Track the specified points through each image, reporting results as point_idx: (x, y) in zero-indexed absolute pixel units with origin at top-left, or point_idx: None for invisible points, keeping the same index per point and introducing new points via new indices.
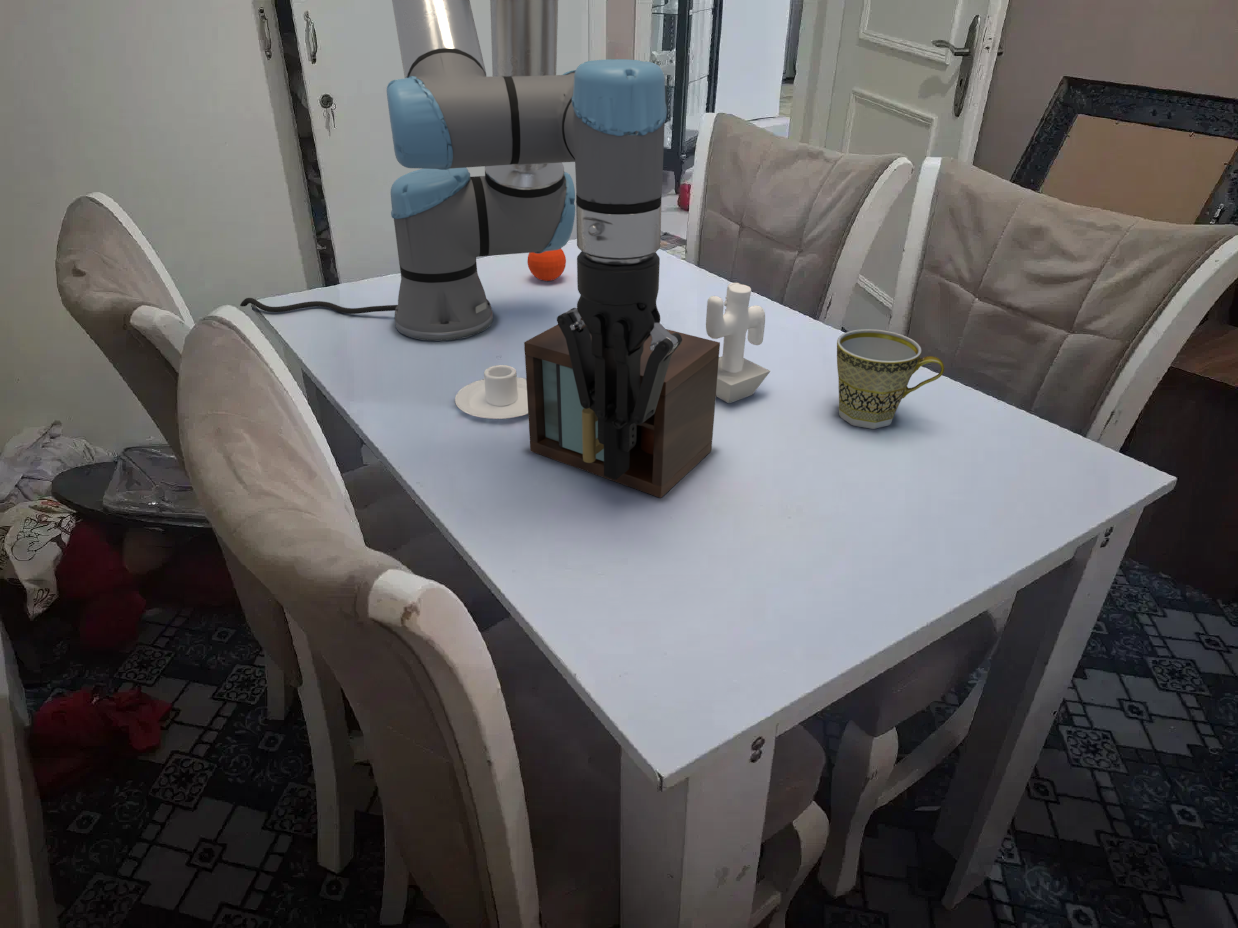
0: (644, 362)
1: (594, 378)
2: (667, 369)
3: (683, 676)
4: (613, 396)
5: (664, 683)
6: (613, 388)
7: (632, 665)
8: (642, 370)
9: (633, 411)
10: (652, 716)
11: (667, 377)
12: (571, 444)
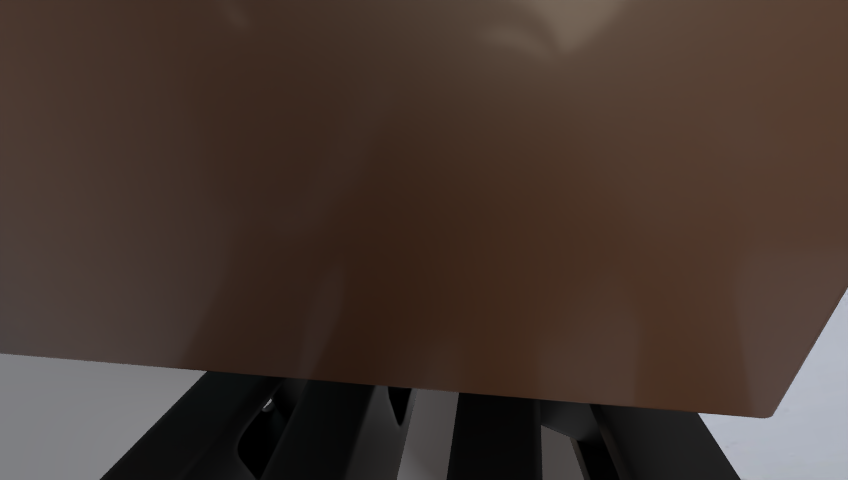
0: (182, 118)
1: (230, 467)
2: (639, 105)
3: (830, 429)
4: (386, 403)
5: (801, 442)
6: (372, 455)
7: (738, 433)
8: (360, 314)
9: (557, 428)
10: (797, 473)
11: (749, 325)
12: None
